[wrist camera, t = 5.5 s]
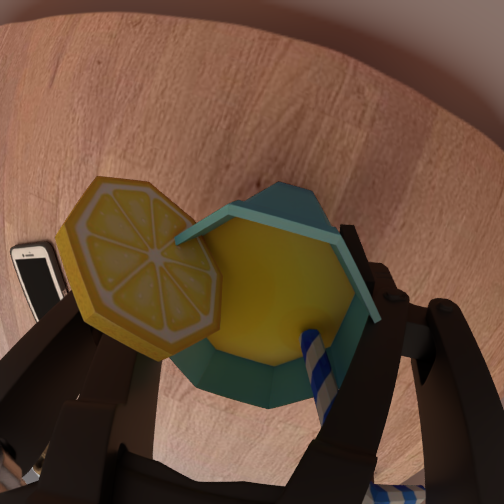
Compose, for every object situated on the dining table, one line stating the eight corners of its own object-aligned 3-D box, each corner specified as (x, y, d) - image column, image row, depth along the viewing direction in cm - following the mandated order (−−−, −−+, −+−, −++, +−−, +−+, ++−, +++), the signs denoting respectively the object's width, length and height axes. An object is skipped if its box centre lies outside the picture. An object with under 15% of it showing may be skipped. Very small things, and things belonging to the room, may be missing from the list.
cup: (416, 255, 18) (523, 461, 4) (337, 332, 21) (336, 543, 7) (240, 113, 17) (14, 95, 3) (174, 213, 20) (-10, 358, 6)
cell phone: (55, 350, 32) (51, 354, 32) (13, 244, 27) (7, 247, 26) (97, 359, 31) (93, 364, 30) (51, 239, 26) (45, 243, 25)
